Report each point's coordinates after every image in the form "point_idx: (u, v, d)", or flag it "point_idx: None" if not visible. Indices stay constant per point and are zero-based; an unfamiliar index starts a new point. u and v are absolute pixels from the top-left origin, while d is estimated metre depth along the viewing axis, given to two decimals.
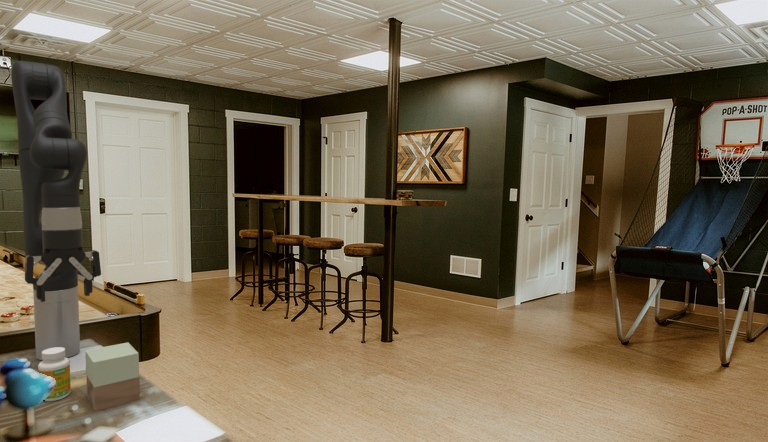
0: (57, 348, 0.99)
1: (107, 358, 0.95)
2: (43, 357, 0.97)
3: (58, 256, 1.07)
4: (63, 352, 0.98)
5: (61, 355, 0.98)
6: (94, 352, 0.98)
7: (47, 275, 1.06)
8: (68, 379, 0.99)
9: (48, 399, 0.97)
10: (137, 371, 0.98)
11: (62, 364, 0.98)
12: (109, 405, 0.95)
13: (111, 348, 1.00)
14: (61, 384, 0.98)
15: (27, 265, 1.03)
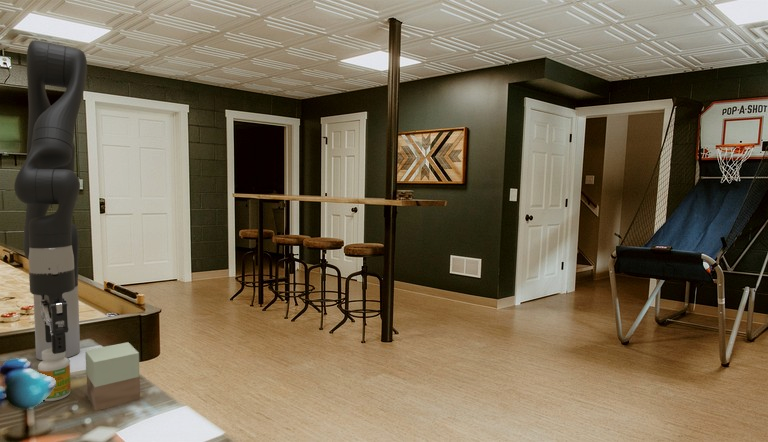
0: None
1: (108, 358, 0.95)
2: (43, 357, 0.97)
3: None
4: (63, 352, 0.98)
5: (61, 355, 0.98)
6: (94, 352, 0.98)
7: None
8: (68, 379, 0.99)
9: (48, 399, 0.97)
10: (137, 371, 0.98)
11: (62, 364, 0.98)
12: (109, 405, 0.95)
13: (111, 347, 1.00)
14: (61, 384, 0.98)
15: (66, 312, 0.93)
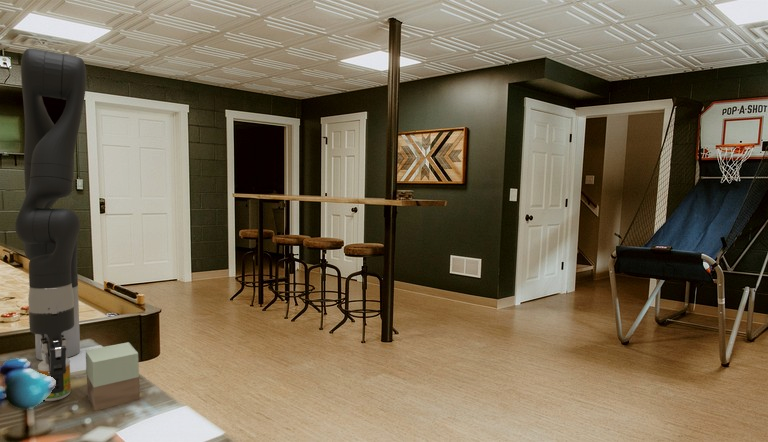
0: None
1: (107, 358, 0.95)
2: (43, 357, 0.97)
3: None
4: None
5: None
6: (94, 352, 0.98)
7: None
8: (68, 379, 0.99)
9: (48, 399, 0.97)
10: (137, 371, 0.98)
11: None
12: (109, 405, 0.95)
13: (111, 348, 1.00)
14: None
15: (64, 356, 0.94)
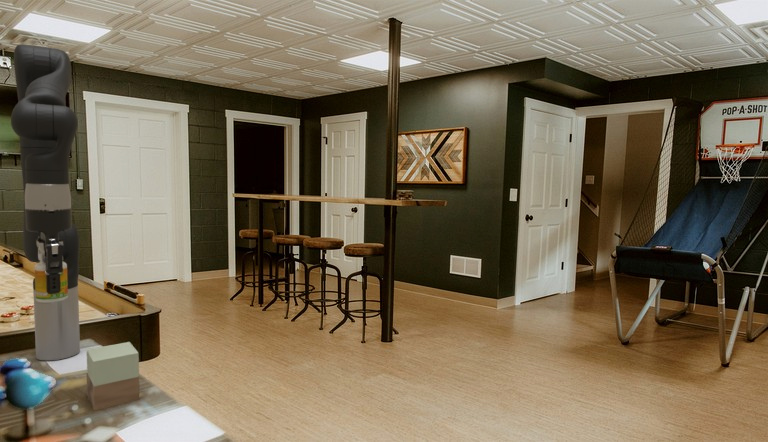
0: None
1: (107, 357, 0.95)
2: (40, 257, 0.95)
3: None
4: None
5: None
6: (94, 351, 0.98)
7: None
8: (65, 282, 0.97)
9: (45, 300, 0.95)
10: (137, 371, 0.98)
11: None
12: (109, 405, 0.95)
13: (112, 347, 1.01)
14: None
15: (61, 254, 0.92)
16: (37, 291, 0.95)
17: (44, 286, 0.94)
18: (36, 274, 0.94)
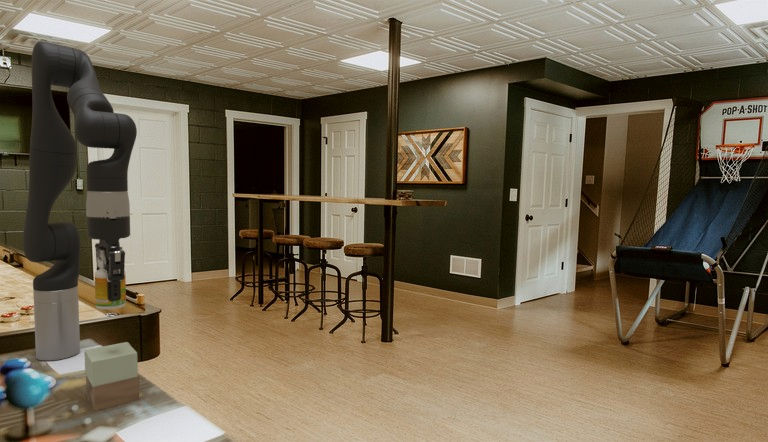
0: None
1: (106, 358, 0.95)
2: (100, 264, 0.95)
3: None
4: None
5: None
6: (93, 352, 0.98)
7: None
8: (124, 289, 0.97)
9: (105, 307, 0.95)
10: (136, 371, 0.98)
11: None
12: (109, 405, 0.95)
13: (110, 347, 1.00)
14: None
15: (123, 261, 0.92)
16: (98, 298, 0.95)
17: (105, 293, 0.95)
18: (97, 281, 0.95)
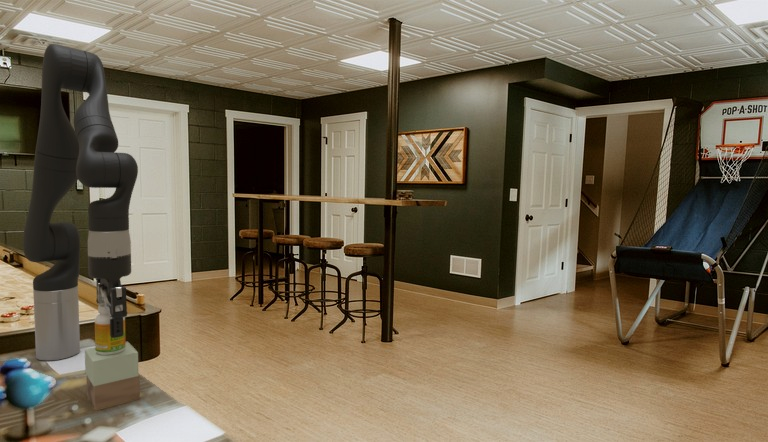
0: None
1: (107, 357, 0.95)
2: (100, 310, 0.96)
3: None
4: None
5: (118, 309, 0.97)
6: (93, 351, 0.98)
7: None
8: (124, 334, 0.98)
9: (105, 353, 0.96)
10: (136, 370, 0.98)
11: None
12: (109, 404, 0.95)
13: None
14: (117, 338, 0.97)
15: (125, 296, 0.93)
16: (97, 344, 0.96)
17: (104, 339, 0.95)
18: (96, 327, 0.95)
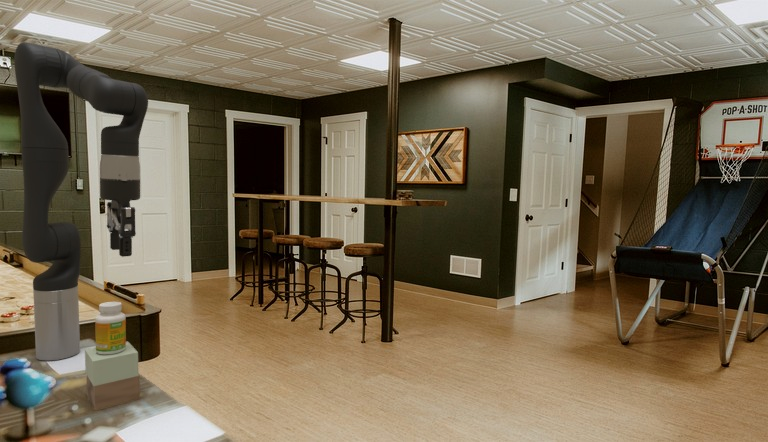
0: (114, 302, 0.99)
1: (107, 357, 0.95)
2: (101, 309, 0.96)
3: None
4: (120, 306, 0.98)
5: (118, 309, 0.97)
6: (93, 351, 0.98)
7: None
8: (124, 333, 0.98)
9: (105, 352, 0.96)
10: (136, 370, 0.98)
11: (118, 317, 0.97)
12: (109, 404, 0.95)
13: None
14: (117, 337, 0.97)
15: (134, 217, 0.98)
16: (97, 343, 0.96)
17: (104, 338, 0.95)
18: (97, 326, 0.96)
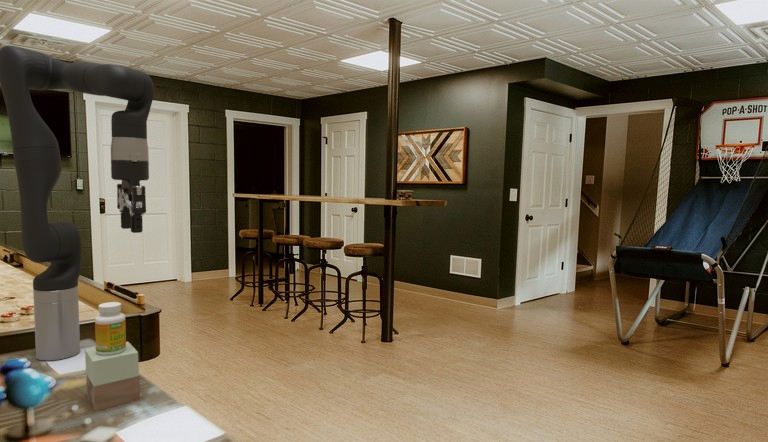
0: (113, 303, 0.99)
1: (107, 357, 0.95)
2: (100, 310, 0.96)
3: None
4: (119, 306, 0.97)
5: (118, 309, 0.97)
6: (93, 351, 0.98)
7: None
8: (124, 334, 0.98)
9: (105, 353, 0.96)
10: (137, 370, 0.98)
11: (118, 318, 0.97)
12: (109, 404, 0.95)
13: None
14: (117, 338, 0.97)
15: (144, 195, 1.04)
16: (97, 344, 0.96)
17: (104, 339, 0.95)
18: (96, 327, 0.96)
